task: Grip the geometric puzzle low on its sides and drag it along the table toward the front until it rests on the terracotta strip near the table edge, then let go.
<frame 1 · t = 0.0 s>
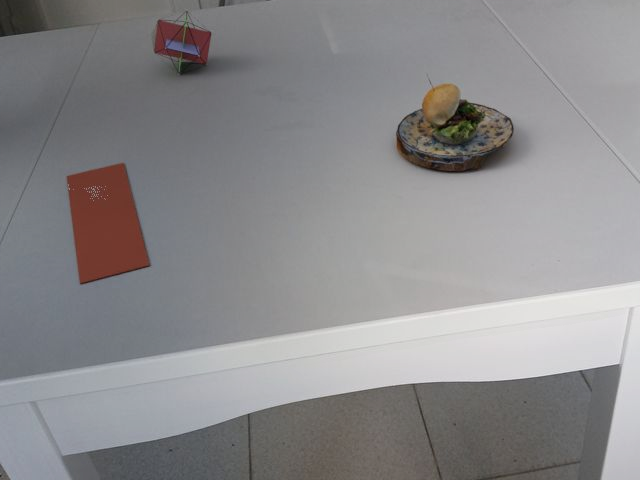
burger: (454, 145, 75), on the table
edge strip: (104, 217, 70), on the table
geometric puzzle: (188, 68, 95), on the table
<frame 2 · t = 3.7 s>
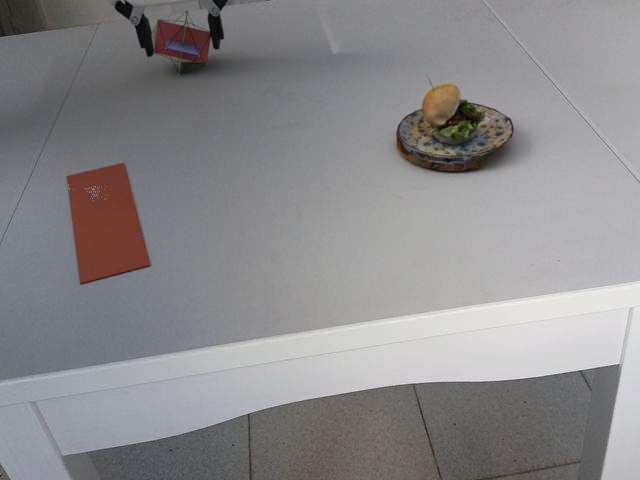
hand: (184, 48, 94), 2 cm above the table, tool pointing down, fingers closed on geometric puzzle, 8 cm apart
geometric puzzle: (188, 68, 95), on the table, touching gripper
everything else where it was.
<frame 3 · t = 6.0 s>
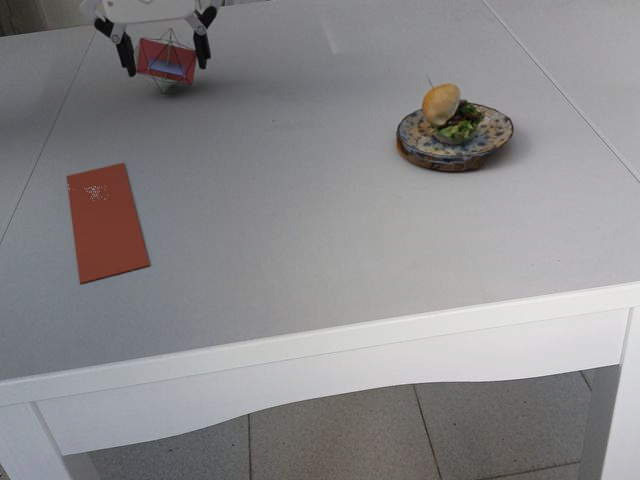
hand: (168, 68, 88), 3 cm above the table, tool pointing down, fingers closed on geometric puzzle, 8 cm apart
geometric puzzle: (173, 89, 90), on the table, touching gripper
everything else where it was.
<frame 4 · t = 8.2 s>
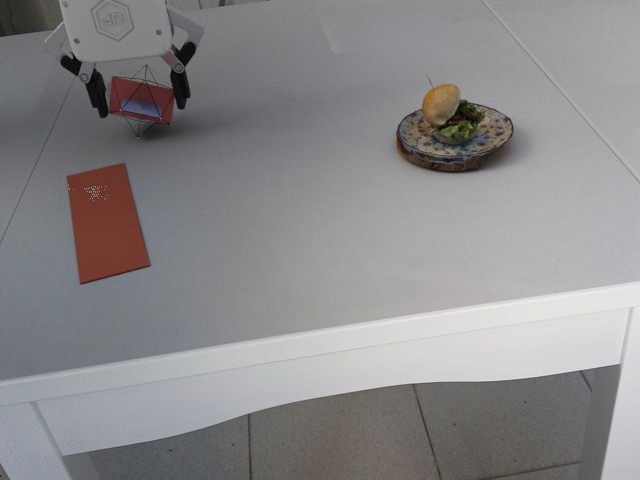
hand: (144, 107, 80), 3 cm above the table, tool pointing down, fingers closed on geometric puzzle, 8 cm apart
geometric puzzle: (150, 130, 82), on the table, touching gripper
everything else where it was.
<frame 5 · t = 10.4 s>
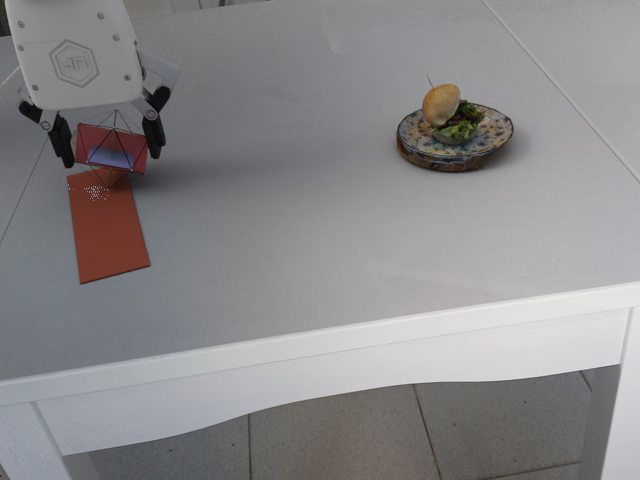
hand: (114, 156, 73), 3 cm above the table, tool pointing down, fingers closed on geometric puzzle, 8 cm apart
geometric puzzle: (122, 179, 74), resting on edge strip, touching gripper
everything else where it was.
when the fingers open (3 cm above the table, at t = 12.5 s): geometric puzzle stays where it is, resting on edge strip.
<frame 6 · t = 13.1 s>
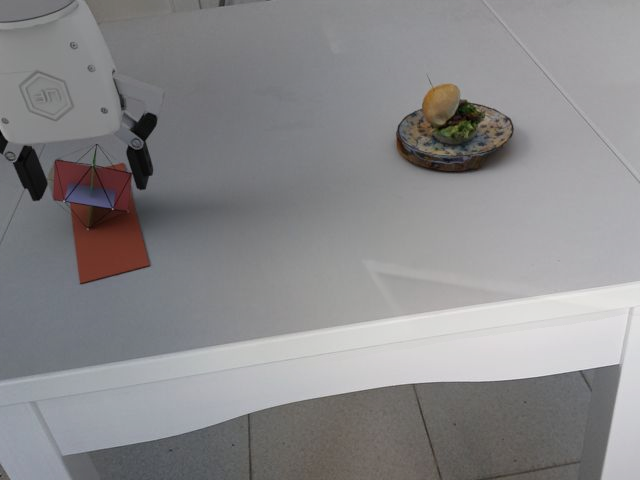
hand: (92, 187, 68), 3 cm above the table, tool pointing down, fingers open, 9 cm apart
geometric puzzle: (103, 217, 70), resting on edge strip
everything else where it was.
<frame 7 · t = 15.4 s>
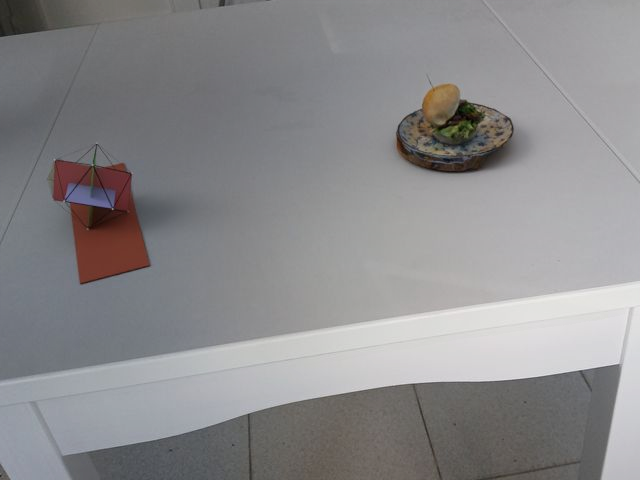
nothing on the table moved.
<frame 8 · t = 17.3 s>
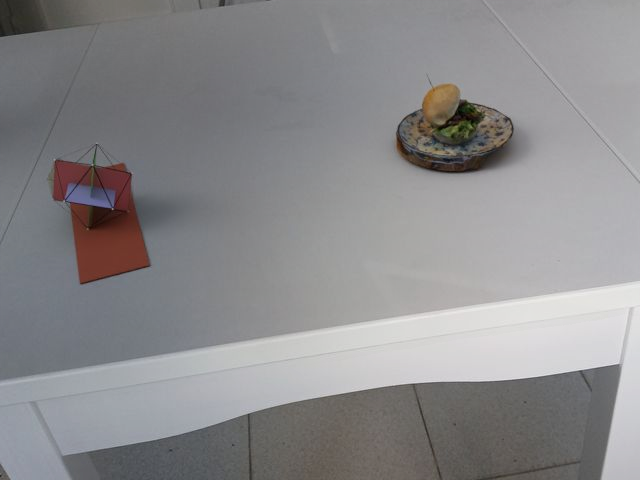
nothing on the table moved.
at the end: geometric puzzle inside the target area on the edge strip (0.1 cm from its centre), point 0.0 cm above the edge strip's base; geometric puzzle moved 35.3 cm from its start; the gripper is holding nothing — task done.
